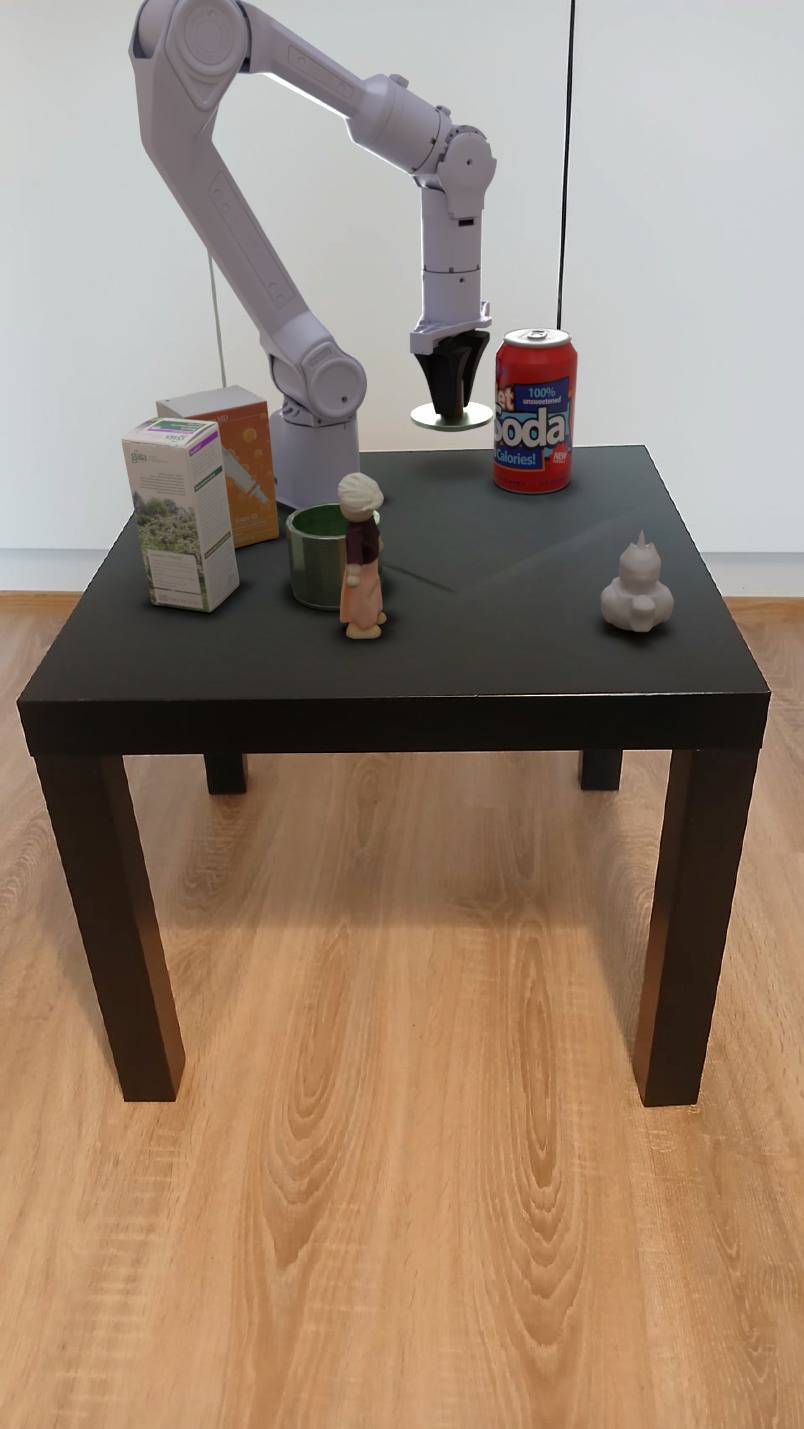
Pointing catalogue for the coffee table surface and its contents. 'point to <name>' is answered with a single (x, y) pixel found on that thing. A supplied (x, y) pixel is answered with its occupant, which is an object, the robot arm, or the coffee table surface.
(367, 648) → the coffee table surface
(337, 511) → the pot
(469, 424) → the pot lid
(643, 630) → the horned animal figurine
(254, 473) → the small box
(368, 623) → the grandmother figurine
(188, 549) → the syrup box
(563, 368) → the soda can
